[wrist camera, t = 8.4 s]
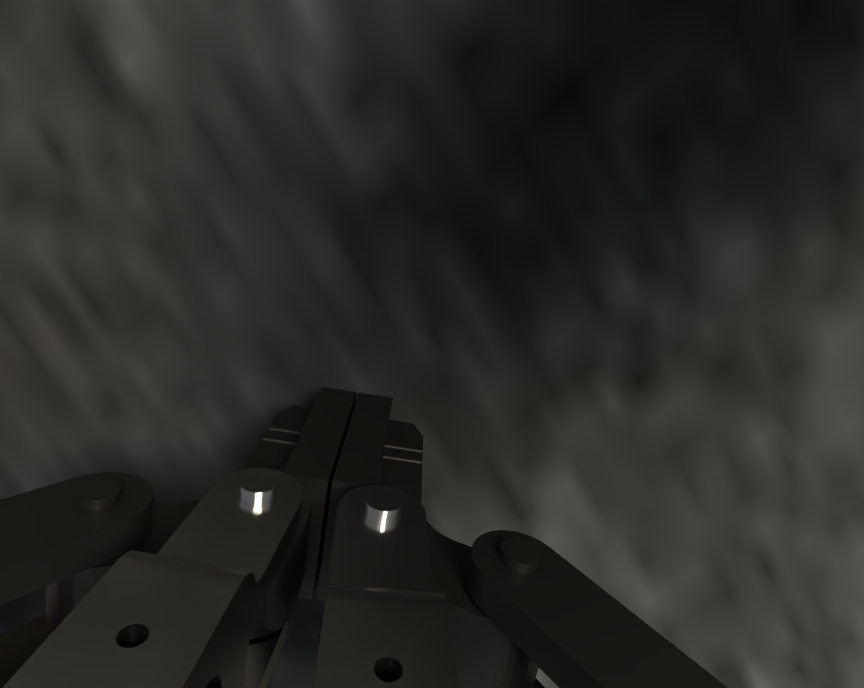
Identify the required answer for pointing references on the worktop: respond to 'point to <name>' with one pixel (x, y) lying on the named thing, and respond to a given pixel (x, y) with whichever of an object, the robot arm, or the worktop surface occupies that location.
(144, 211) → the worktop surface
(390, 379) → the worktop surface
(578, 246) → the worktop surface
